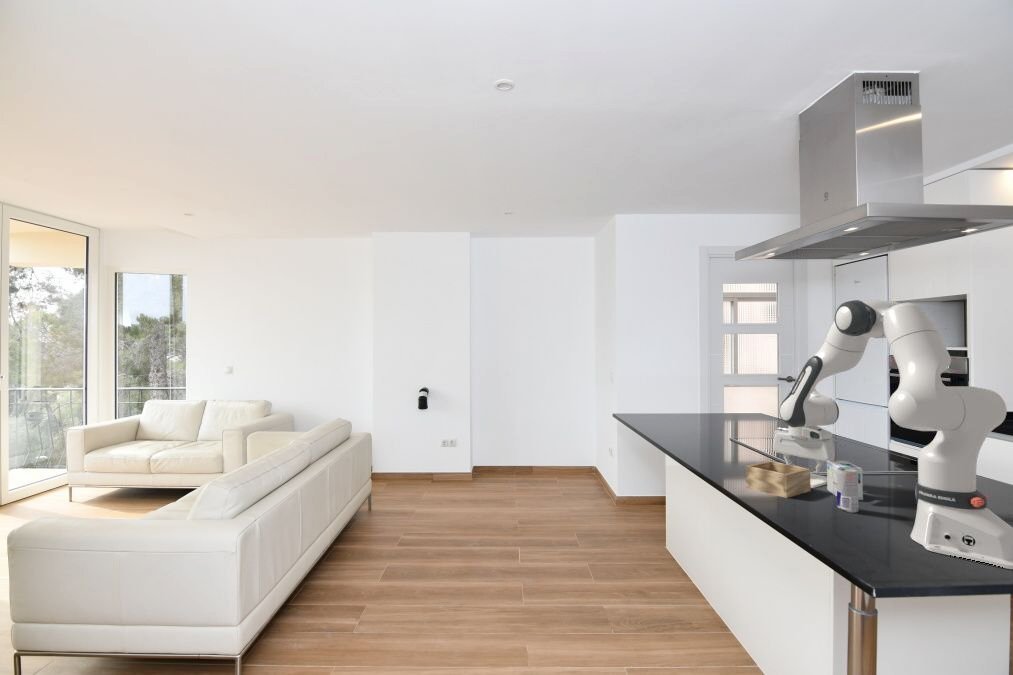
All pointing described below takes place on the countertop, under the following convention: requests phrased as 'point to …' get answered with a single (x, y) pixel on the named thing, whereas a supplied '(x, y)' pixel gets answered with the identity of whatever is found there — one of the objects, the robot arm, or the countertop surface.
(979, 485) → the countertop surface
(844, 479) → the energy drink
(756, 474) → the box
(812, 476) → the lid
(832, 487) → the light bulb box
